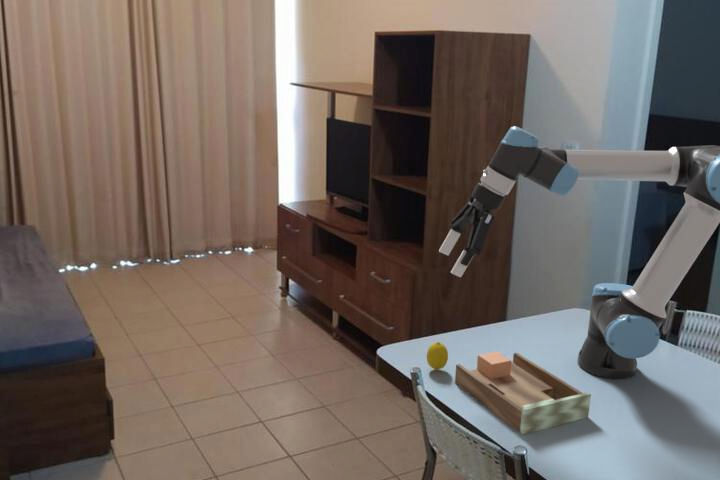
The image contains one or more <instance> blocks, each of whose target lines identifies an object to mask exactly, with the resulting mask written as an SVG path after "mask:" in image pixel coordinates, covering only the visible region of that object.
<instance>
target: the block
mask: <svg viewBox="0 0 720 480" xmlns="http://www.w3.org/2000/svg"><path fill="white" fill-rule="evenodd" d="M511 362H513V359H512V360H511V358H509V357H507V356H505V355H504V354H502V353H501V352H499V351H497V350H496V351H491V352H487V353H481V354H477V362H476V369H477V370H478V371H480V372H481V373H483V374H484V375H486V376H487V377H488V378H490V379H494V378H498V377H503V376H508V375H510V372H511Z"/></svg>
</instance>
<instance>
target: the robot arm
mask: <svg viewBox="0 0 720 480" xmlns="http://www.w3.org/2000/svg"><path fill="white" fill-rule="evenodd" d="M539 143H540V139H539V137H537V136H536V135H534V134H532V133H530V132H528V131H527V130H525V129H523V128H521V127H519V126H516V125H514V126H511V127H510V128H509V129H508V131H507V132H506V134H505V135H504V137H503V138H502V140H501V141H500V143H499V145H498V147H497V149H496V151H495V153H494V154H493V156H492V158H491V160H490V162H489V163H488V164H487V167H486V168H485V169H483V171H482V173H483V174H482V175H481V177H480V179H479V180H480V182H477V184H476V185H475V187H474V189H473V191H472V192H471V196H470V197H469V199H468V200H467V201H466V203H465V205H463V207H461V209H460V210H459V211H458V213H456V215H455V216H454V217H453V218H452V219H451V220H450V224H451V226H450V228H451V229H449V232H448V234H447V235H446V237H445V239H444V241H443V242H442V244H441V245H440V248H439V250H438V253H441V254H443V255H446V256H450V254H451V252H452V250H453V249H454V247H455V245H456V243H457V242H458V241H459V238H460V237H461V234H463V232H464V229H465V228H467V227H468V226H469V225H470V226H471V227H470V232H469V236H468V239H467V245H466V246H465V247H463V250H462V252H461V253H460V256H458V258H457V259H456V262H455V263H454V265H453V267H452V269H451V271H450V273H451V274H452V275H454V276H456V277H459V278H462V276H463V275H464V273H465V271H466V270H467V268H468V266H469V265H470V263H471V261H472V259H473V258H474V256H477V257H479V256H480V255H481V253H482V250H483V248H484V245H485V242H486V239H487V236H488V233H489V231H490V228H491V225H492V223H493V222H494V220H495V216H493V215H491V212H492V210H494V211H498V210H500V208H501V207H502V205H503V203H504V202H505V200H506V196H508V195H509V193H510V192H511V190H512V189H513V187H514V185H515V183H516V182H517V180H518V177H520V176H522V177H523V178H526V179H528V180H530V181H531V182H533V183H535V184H537V185H539V186H541V187H542V188H544V189H546V190H547V191H549V192H550V193H553V194H556V195H558V196H560V197H564V196H566V195H567V194H568V193H570V192H571V190H572V189H573V188H574V186H575V184H576V182H577V181H578V180H579V181H581V180H583V181H623V182H624V181H625V182H626V181H628V182H630V181H631V182H632V181H635V182H666V183H667V184H668V185H669V186H675V187H676V186H677V187H686V189H685V190H684V192H683V196H684V201H685V202H684V205H683V206H682V208H681V209H680V211H679V213H678V214H677V216H676V217H675V219H674V220H673V222H672V223H671V225H670V227H669V229H668V230H667V231H666V233H665V235H664V236H663V238H662V239H661V241H660V243H659V244H658V246H657V248H656V249H655V251H654V252H653V253H652V256H651V257H650V258H649V261H648V262H647V263H646V265H645V266H644V268H643V270H642V271H641V273H640V275H639V276H638V277H637V279H636V281H635V283H634V284H633V285H628V284H623V283H614V282H604V283H603V282H601V283H598V284H597V283H596V285H594V287H593V289H592V294H591V302H590V310H589V311H590V312H589V320H588V329H587V336H586V338H585V339H584V342H583V343H582V344H583V345H582V347H581V349H580V350H579V352H578V356H577V364H578V366H579V367H580V368H581V369H582V370H584V371H585V372H588V373H589V374H592V375H594V376H597V377H601V378H607V379H627V378H630V377H633V376H634V375H635V374H636V373H637V368H638V360H637V359H640V358H644V357H646V356H648V355H650V354H651V353H652V352H654V351H655V350H656V348H657V347H658V345H659V342H660V331H659V330H660V328H661V326H662V324H663V323H664V321H665V320H666V318H667V312H666V305H667V304H668V303H669V302H670V299H671V298H672V297H673V295H674V294H675V292H676V290H677V289H678V287H679V286H680V284H681V282H682V281H683V279H684V278H685V277H686V275H687V274H688V272H689V270H690V269H691V267H692V265H694V262H695V261H696V260H697V258H699V257H698V256H699V255H700V254H701V251H703V249H704V247H705V246H706V244H707V242H708V241H709V240H710V239H711V237H712V235H713V234H714V232H715V231H716V229H717V227H718V226H719V225H720V145H713V144H712V145H693V146H672V147H670V148H669V149H668V150H630V149H629V150H627V149H626V150H623V149H621V150H619V149H615V150H613V149H612V150H611V149H552V148H551V149H550V148H548V147H541V146H540V147H538V144H539Z"/></svg>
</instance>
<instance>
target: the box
mask: <svg viewBox="0 0 720 480" xmlns="http://www.w3.org/2000/svg"><path fill="white" fill-rule="evenodd" d="M454 378H455V379H454V384H456V385H457V386H459V387H460V388H461V389H463V390H464V391H465V392H466V393H467V394H469V396H470V395H471V396H472V397H473V398H475V400H477V401H478V402H479V403H481V404H482V405H484V406H485V407H486V408H487V409H488V410H490V411H491V412H493V413H494V414H495V415H497V416H498V417H499V418H501V419H502V420H503V421H504V422H506V423H507V424H508V425H509V426H511V427H513V428H514V429H515V430H516V431H517V432H519V433H520V434H522V435H526V434H527V435H528V434H530V433H533V432H537V431H542V430H545V429H549V428H553V427H556V426H560V425H564V424H567V423H572V422H576V421H578V420H579V421H580V420H583V419H587V418H589V414H590V406H591V398H592V394H591V393H590V392H588V391H586V392H582V391H580V390H579V389H577V388H575V387H574V386H572V385H571V384H569V383H567V382H565V380H562V379H560V378H559V377H557V376H556V375H554V374H552V373H551V372H549V371H548V370H546V369H545V368H543V367H541V366H539V365H538V364H536V363H534V362H533V361H531V360H530V359H528V358H527V357H525V356H523V355H521V354H520V353H519V352H513V357H512V361H511V372H510V375H508V376H503V377H498V378H494V379H490V378H488V377H487V376H486V375H484V374H483V373H481V372H480V371H478V370H477V368H476V369H472V370H469V369H467V367H465V366H463V365H461V364H460V363H457V364H456V365H455V376H454Z"/></svg>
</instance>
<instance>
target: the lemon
mask: <svg viewBox="0 0 720 480" xmlns="http://www.w3.org/2000/svg"><path fill="white" fill-rule="evenodd" d="M448 360H449V353H448V349H447V347H446V345H445V344H443V343H441V342H439V341H437V342H433V343H432V344H430V346H429V347H428V349H427V350H426V361H427V364H428V365H429V367H430V368H432V369H433V370H435V371H439V370H441V369H442V368H443V369H444V367H446V365H447V363H448Z"/></svg>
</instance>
